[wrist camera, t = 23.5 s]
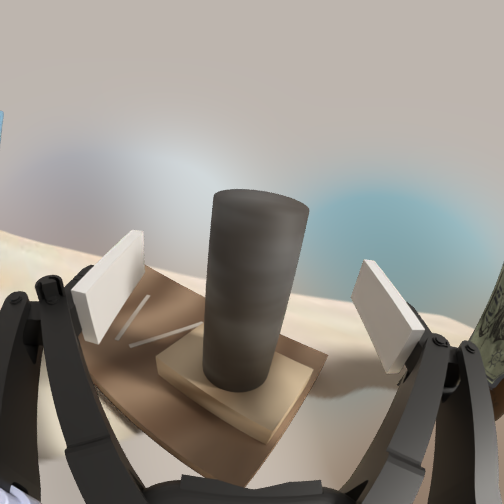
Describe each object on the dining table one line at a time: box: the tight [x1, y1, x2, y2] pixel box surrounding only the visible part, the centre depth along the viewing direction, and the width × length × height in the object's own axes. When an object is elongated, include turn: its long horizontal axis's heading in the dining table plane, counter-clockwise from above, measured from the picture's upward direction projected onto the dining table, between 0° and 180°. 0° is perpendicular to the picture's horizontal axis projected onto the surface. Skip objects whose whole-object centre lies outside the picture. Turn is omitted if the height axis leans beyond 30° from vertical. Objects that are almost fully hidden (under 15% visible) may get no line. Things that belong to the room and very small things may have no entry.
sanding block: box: [156, 189, 314, 445], centre depth 15 cm, size 9×6×13 cm, turn 58°
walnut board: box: [78, 265, 328, 488], centre depth 21 cm, size 24×14×2 cm, turn 59°
